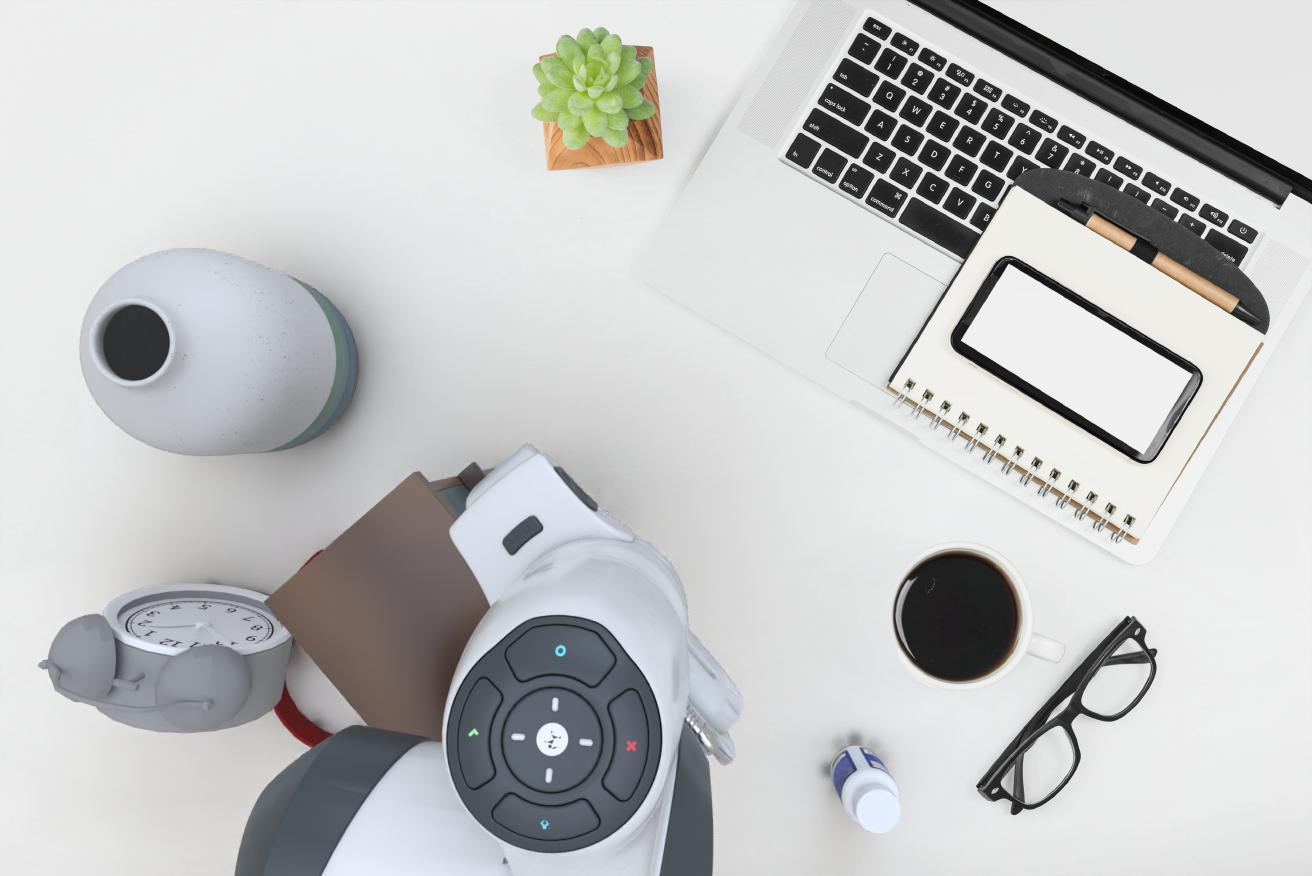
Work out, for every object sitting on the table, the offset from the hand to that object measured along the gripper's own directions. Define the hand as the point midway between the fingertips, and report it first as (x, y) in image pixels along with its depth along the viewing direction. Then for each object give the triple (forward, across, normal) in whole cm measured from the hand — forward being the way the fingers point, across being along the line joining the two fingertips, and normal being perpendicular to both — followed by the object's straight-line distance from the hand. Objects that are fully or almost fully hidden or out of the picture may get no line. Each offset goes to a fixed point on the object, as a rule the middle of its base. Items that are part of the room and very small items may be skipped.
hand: (621, 570), depth 56 cm
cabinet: (+26, +6, +11) cm, 29 cm away
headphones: (+26, +9, +30) cm, 41 cm away
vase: (+27, +34, +17) cm, 47 cm away
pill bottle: (+26, -32, 0) cm, 42 cm away
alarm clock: (+26, +17, +37) cm, 49 cm away
